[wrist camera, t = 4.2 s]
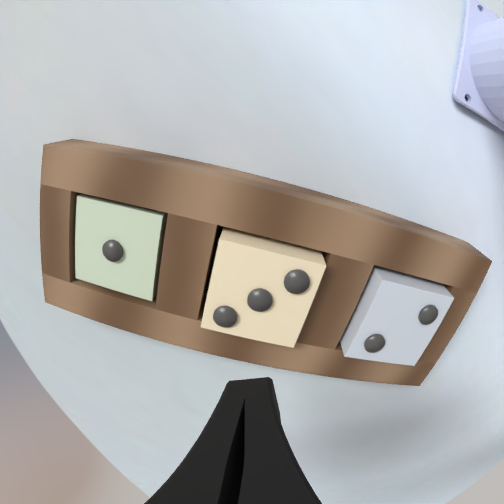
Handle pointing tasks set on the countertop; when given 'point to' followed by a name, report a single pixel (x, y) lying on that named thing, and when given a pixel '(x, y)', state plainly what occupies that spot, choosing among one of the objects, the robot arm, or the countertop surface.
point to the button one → (119, 245)
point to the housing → (252, 221)
